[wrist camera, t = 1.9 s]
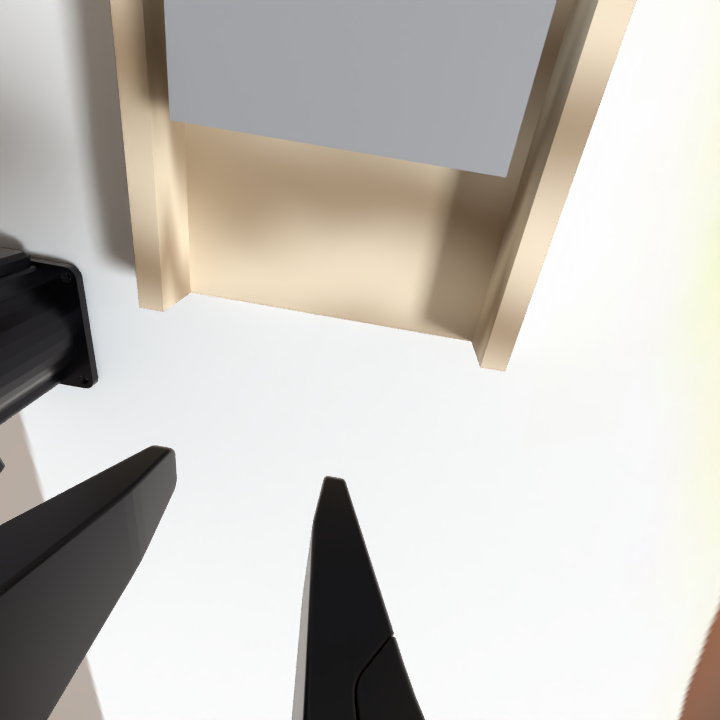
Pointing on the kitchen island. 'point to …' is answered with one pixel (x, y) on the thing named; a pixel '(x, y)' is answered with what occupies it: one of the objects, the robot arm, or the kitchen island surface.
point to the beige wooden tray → (357, 200)
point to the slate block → (361, 73)
